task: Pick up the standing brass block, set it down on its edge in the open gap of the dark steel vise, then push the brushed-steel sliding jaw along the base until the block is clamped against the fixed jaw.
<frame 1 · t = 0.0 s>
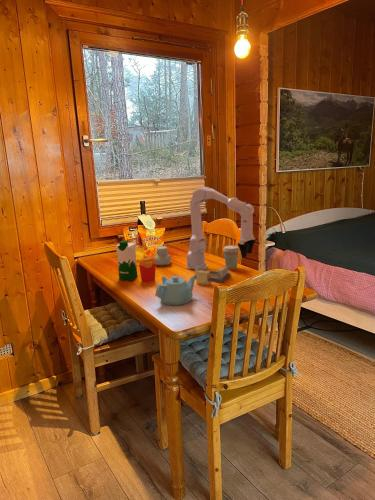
hand: (246, 255, 186), 10 cm above the table, fingers open, 7 cm apart
milk carton: (128, 278, 189), on the table
french fries: (148, 281, 184), on the table
teapot: (176, 300, 158), on the table
brass block: (203, 283, 177), on the table
coffee cup: (231, 268, 199), on the table
vise base: (212, 277, 185), on the table
air freshener: (163, 264, 211), on the table
free jaw: (222, 272, 181), point 4 cm above the table, slide at 0.0 cm
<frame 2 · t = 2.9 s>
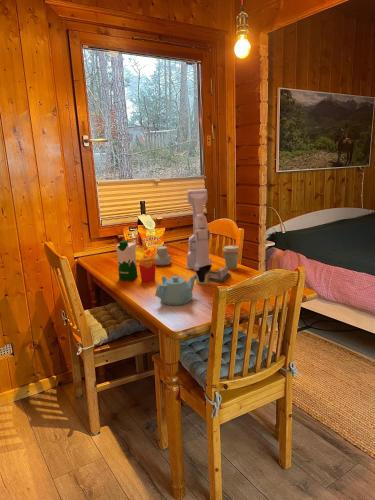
hand: (203, 280, 177), 1 cm above the table, fingers closed on brass block, 3 cm apart
brass block: (203, 283, 177), on the table, touching gripper
everything else where it was.
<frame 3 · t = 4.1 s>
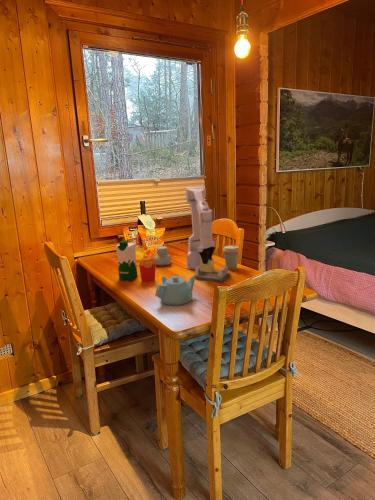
hand: (206, 262, 178), 9 cm above the table, fingers closed on brass block, 3 cm apart
brass block: (207, 270, 180), point 5 cm above the table, touching gripper
everything else where it was.
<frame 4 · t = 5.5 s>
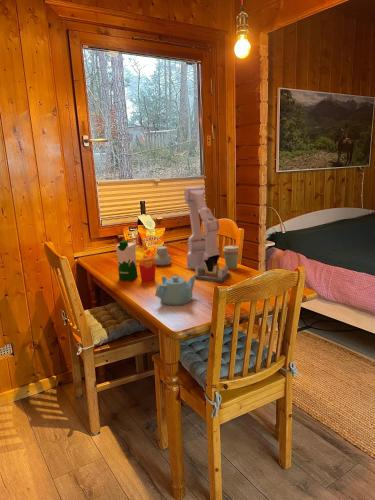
hand: (211, 270, 184), 4 cm above the table, fingers closed on brass block, 3 cm apart
brass block: (212, 275, 185), point 1 cm above the table, touching gripper, vise base
everything else where it was.
when the fingers open (4 cm above the table, at t = 5.8 s): brass block stays where it is, resting on vise base.
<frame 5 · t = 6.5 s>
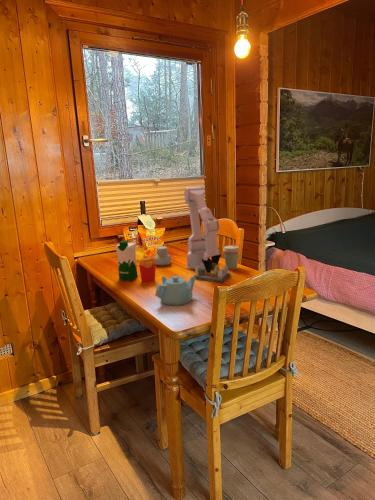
hand: (211, 270, 184), 4 cm above the table, fingers open, 7 cm apart
brass block: (212, 275, 185), point 1 cm above the table, touching vise base
everything else where it was.
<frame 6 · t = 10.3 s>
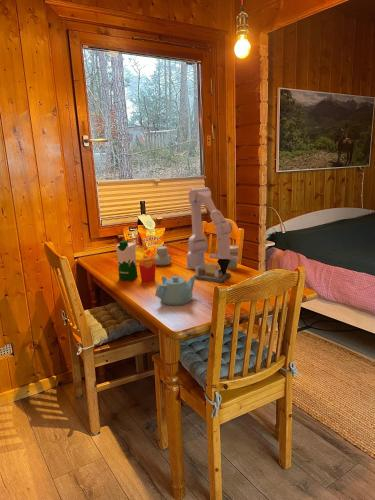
hand: (224, 273, 181), 3 cm above the table, fingers closed
free jaw: (219, 271, 182), point 4 cm above the table, slide at 1.7 cm, touching gripper
everything else where it was.
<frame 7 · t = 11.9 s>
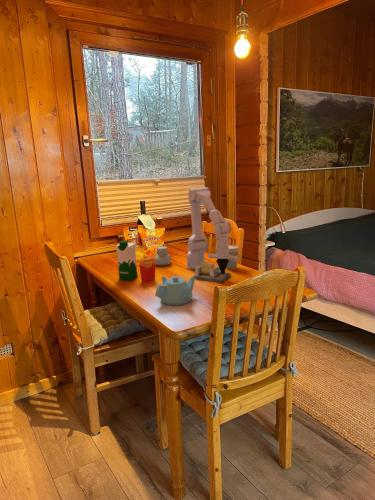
hand: (223, 273, 181), 3 cm above the table, fingers closed
brass block: (207, 274, 186), point 1 cm above the table, touching free jaw, vise base
free jaw: (215, 271, 183), point 4 cm above the table, slide at 4.3 cm, touching brass block
everything else where it was.
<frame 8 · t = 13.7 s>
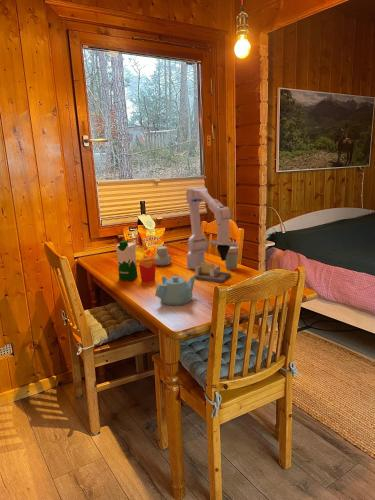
hand: (223, 260, 178), 10 cm above the table, fingers closed
nothing on the table moved.
at the end: free jaw slide at 4.3 cm; brass block 0.2 cm from the target spot on the vise base, point 1.2 cm above the vise base's base; brass block tilted 0° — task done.
